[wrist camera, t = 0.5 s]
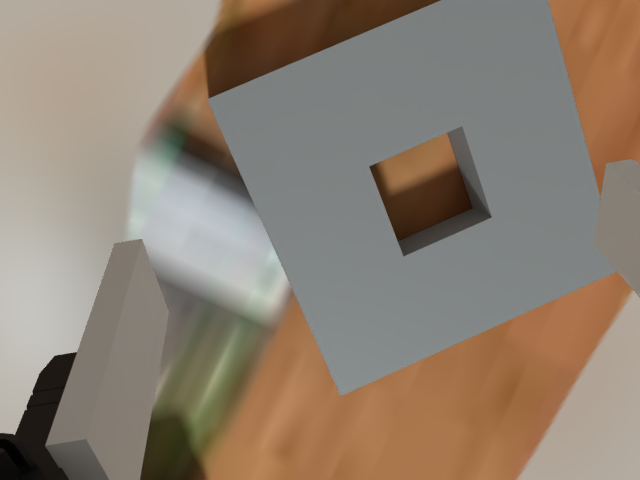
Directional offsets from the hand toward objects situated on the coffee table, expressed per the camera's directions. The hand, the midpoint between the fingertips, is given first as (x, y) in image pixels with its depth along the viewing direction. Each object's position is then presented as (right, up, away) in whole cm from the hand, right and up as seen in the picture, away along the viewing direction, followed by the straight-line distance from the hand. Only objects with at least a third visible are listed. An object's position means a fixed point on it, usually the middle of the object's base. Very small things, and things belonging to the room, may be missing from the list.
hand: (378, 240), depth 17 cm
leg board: (+5, +4, +21) cm, 22 cm away
